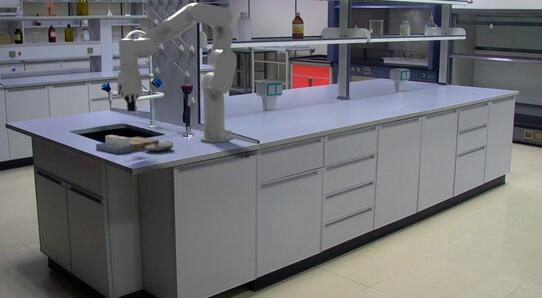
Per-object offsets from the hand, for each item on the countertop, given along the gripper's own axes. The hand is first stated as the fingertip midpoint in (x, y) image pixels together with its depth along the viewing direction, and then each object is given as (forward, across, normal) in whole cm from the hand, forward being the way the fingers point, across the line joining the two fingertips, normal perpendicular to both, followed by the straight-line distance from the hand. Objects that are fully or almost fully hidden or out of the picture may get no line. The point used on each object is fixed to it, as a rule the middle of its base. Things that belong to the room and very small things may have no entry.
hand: (131, 111), depth 254 cm
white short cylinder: (+14, +4, -7) cm, 16 cm away
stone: (+18, -7, +16) cm, 25 cm away
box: (+17, +7, -4) cm, 18 cm away
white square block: (+14, +4, 0) cm, 14 cm away
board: (+17, -4, -4) cm, 18 cm away
